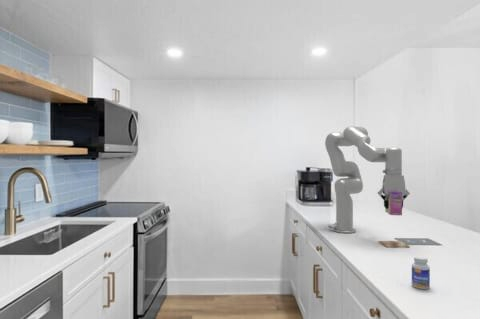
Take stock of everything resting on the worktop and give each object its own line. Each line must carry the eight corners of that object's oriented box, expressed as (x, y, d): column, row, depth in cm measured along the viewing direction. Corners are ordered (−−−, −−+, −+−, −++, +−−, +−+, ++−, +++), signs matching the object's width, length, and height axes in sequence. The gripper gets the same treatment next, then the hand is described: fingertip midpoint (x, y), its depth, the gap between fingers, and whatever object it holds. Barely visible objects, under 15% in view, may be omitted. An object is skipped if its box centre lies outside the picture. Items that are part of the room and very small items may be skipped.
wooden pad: (386, 247, 166) (386, 246, 166) (378, 242, 177) (378, 240, 177) (409, 247, 166) (409, 246, 166) (400, 242, 177) (400, 241, 177)
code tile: (405, 244, 171) (405, 244, 171) (394, 238, 185) (394, 238, 185) (442, 245, 171) (442, 244, 171) (428, 238, 185) (428, 238, 185)
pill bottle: (412, 288, 114) (412, 259, 114) (410, 282, 119) (410, 254, 119) (431, 290, 112) (431, 260, 112) (428, 284, 117) (428, 256, 117)
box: (402, 215, 166) (402, 191, 166) (389, 215, 167) (389, 191, 167) (397, 212, 176) (397, 189, 176) (385, 212, 177) (385, 189, 177)
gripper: (378, 172, 168) (378, 209, 168) (414, 172, 167) (414, 209, 167) (373, 172, 176) (373, 207, 176) (407, 172, 175) (407, 207, 175)
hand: (393, 207), depth 172 cm, fingers closed on box, 6 cm apart
